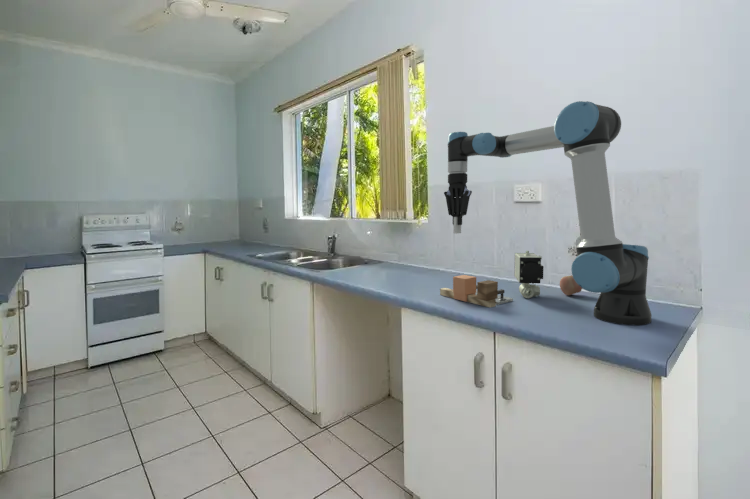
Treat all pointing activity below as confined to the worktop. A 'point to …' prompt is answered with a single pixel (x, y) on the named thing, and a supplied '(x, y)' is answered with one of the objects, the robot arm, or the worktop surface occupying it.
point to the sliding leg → (464, 286)
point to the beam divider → (480, 293)
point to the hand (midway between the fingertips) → (457, 233)
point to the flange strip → (501, 299)
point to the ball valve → (528, 273)
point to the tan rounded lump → (569, 285)
